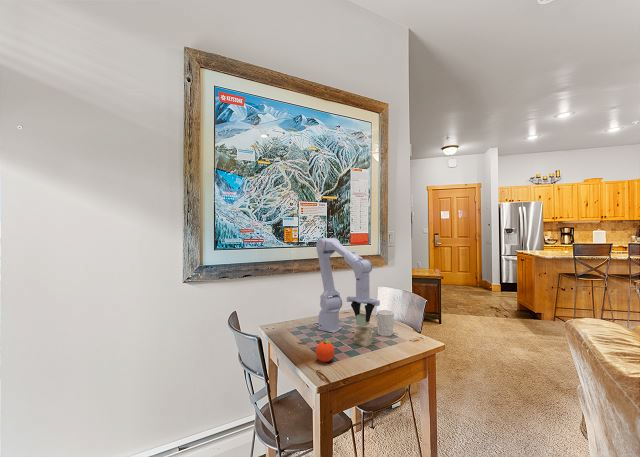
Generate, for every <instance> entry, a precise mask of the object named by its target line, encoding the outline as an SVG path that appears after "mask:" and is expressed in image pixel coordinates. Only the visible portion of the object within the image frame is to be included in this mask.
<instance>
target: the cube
mask: <svg viewBox="0 0 640 457" xmlns="http://www.w3.org/2000/svg"><path fill="white" fill-rule="evenodd" d="M355 321H356V322H355V324H356V326H360V327H368V326H369V325H370V321H369V322H366V313H361V312H360V314H358V315H356V316H355Z"/></svg>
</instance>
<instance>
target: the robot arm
mask: <svg viewBox="0 0 640 457" xmlns="http://www.w3.org/2000/svg"><path fill="white" fill-rule="evenodd" d="M315 247H316V252H317V257H318V262H319V271H320V275H321V280H322V287H323V292H322V293H321V294H320V295H319V297H320V300H319V301H320V302H319V303H320V304H319V307H320V311H319V313H318V328H317V330H320V331H324V332H330V333H333V334H334V333H336V332H338V331H340V330H342V329H343V326H340V311H341V308H342V307H343V299H342V298H341V295H340V292H339V291H338V290H337V289H336V287H335V282H334V276H333V271H332V265H331V260H330V257H331V256H332V255H333V254H334V253H337V254H339V256H340V255H341V257H343V260H344V262H345V263H346V264H347V265H349V266H350V267H351V268H352V271H353V273H354V278H355V296H346V302H347V303H350V307H351V308H352V310H353V313H354V316H355V317H356V315H358V314H360V313H361V306H362V305H361V304H364V310H365V314H366V322H369V323H370V321H371V317H372V312H373V310H374V309H375V306H376V307H378V306H380V304H381V303H380V300H378V299H373V298H370V273H371V272H372V270H373V263H372V262H371V261H370V259H364V258H363V257H362V256H360V255H359V254H357V252H356V251H355V250H348V248H346V247H345V246H344V245H343V244H342V243H341V242H340V240H339V239H338V238H336V237H329V238H328V237H327V238H326V237H324V238H323V237H320V238H318V239H317V241H316V244H315Z"/></svg>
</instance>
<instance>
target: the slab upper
mask: <svg viewBox="0 0 640 457" xmlns="http://www.w3.org/2000/svg"><path fill="white" fill-rule="evenodd" d="M371 335H372V327H368V326H365V327H364V326H359V325H357V326H356V328H355V329H354V331H353V339H354V338H360V339H367V340H369V338H370V336H371Z"/></svg>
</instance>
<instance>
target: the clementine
mask: <svg viewBox="0 0 640 457" xmlns="http://www.w3.org/2000/svg"><path fill="white" fill-rule="evenodd" d="M315 356H316V357H317V359H318V360H319V361H320V362H322V363H323V362H324V363H326V362H330V361H331V360H332V359H333V358H334V356H335V347H334V346H333V342H332V341H330V340H325V341H321V342H320V343H318V344H317V345H316V347H315Z"/></svg>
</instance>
